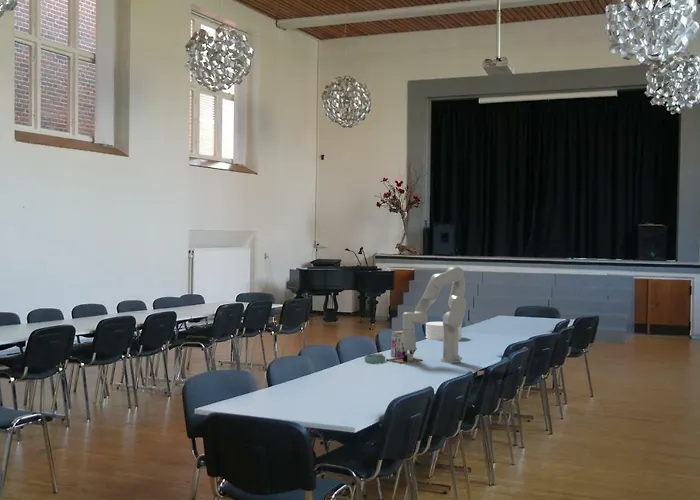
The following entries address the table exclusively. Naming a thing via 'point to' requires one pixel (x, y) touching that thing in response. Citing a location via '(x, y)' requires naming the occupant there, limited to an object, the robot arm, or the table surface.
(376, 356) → the light grey cube
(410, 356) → the beige square block
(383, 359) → the bowl
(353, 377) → the table surface
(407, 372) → the table surface
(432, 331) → the plate stack
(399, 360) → the tray
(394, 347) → the candy bar box
